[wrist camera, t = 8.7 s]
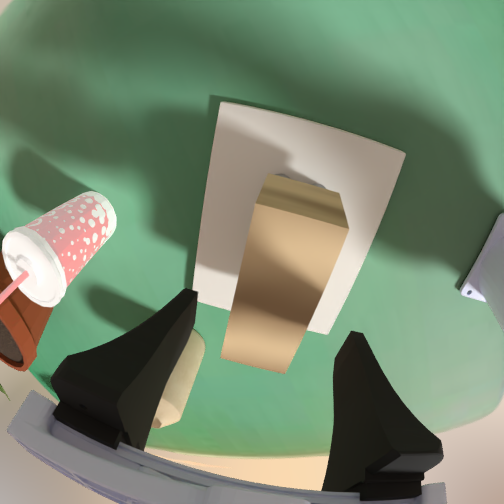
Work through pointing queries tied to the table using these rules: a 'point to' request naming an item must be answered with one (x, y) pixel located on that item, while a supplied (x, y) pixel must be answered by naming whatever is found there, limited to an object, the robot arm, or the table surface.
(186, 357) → the candle
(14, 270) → the beverage cup
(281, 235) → the tan rectangular block
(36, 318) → the potted plant
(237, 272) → the peg base
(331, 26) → the table surface
